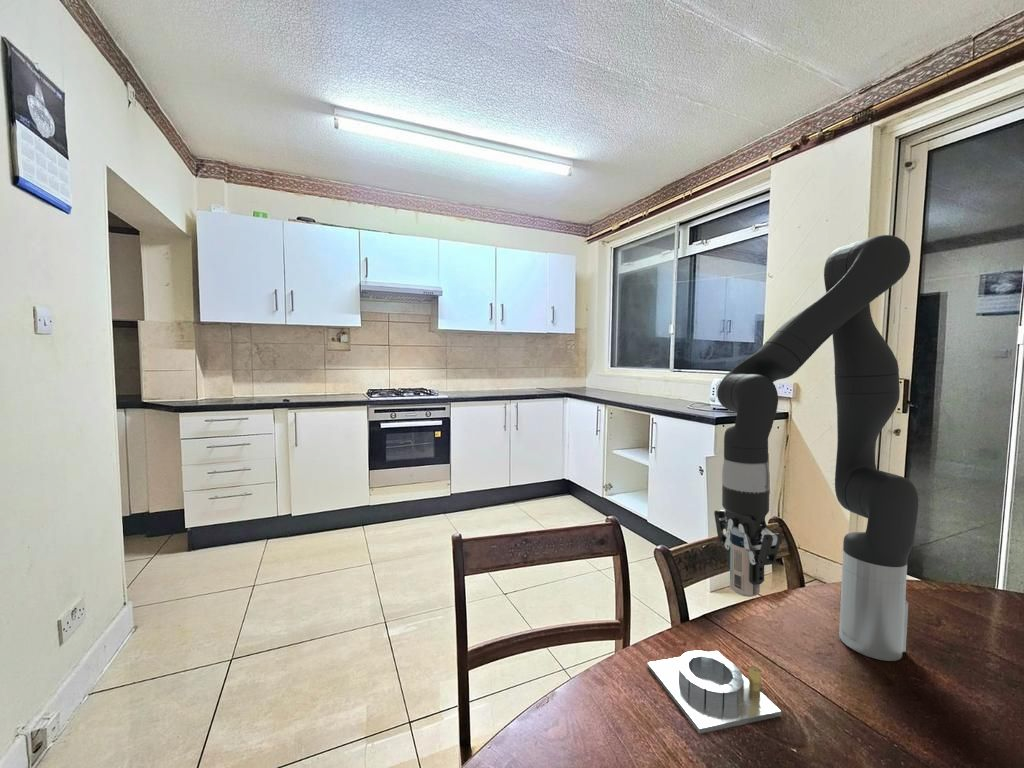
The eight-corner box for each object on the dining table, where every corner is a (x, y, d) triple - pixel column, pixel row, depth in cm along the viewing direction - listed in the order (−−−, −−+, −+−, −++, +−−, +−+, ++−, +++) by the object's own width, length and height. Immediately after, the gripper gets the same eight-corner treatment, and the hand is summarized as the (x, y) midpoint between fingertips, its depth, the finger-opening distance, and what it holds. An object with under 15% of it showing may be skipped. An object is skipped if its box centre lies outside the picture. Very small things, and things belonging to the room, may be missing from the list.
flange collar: (717, 655, 79) (717, 629, 79) (781, 716, 66) (782, 685, 65) (647, 666, 76) (648, 640, 76) (699, 733, 62) (700, 701, 62)
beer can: (763, 599, 77) (764, 533, 76) (734, 597, 78) (734, 531, 77) (754, 585, 82) (754, 523, 81) (726, 583, 83) (727, 521, 82)
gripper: (796, 494, 73) (795, 593, 74) (734, 472, 87) (734, 556, 88) (758, 498, 71) (757, 600, 72) (701, 475, 85) (701, 561, 86)
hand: (744, 575), depth 80 cm, fingers closed on beer can, 4 cm apart
